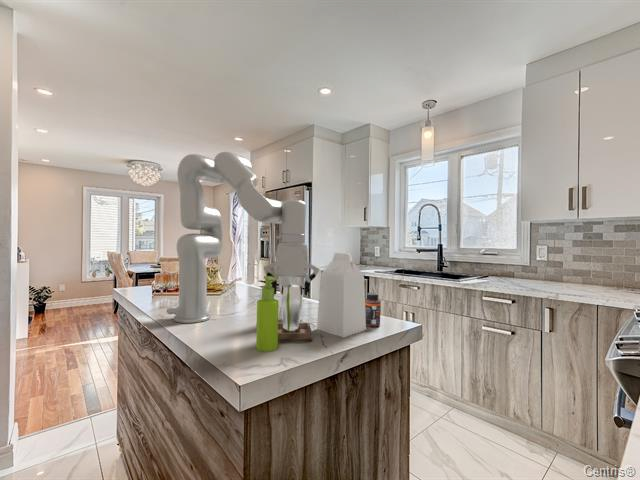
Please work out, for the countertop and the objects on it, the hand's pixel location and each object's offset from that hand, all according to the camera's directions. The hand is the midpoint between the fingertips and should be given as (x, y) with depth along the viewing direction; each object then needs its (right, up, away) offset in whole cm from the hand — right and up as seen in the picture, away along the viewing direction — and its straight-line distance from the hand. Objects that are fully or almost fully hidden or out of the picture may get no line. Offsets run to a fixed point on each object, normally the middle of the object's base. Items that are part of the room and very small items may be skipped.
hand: (290, 294), depth 100 cm
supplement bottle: (+28, -14, +14) cm, 34 cm away
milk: (+16, -14, +8) cm, 23 cm away
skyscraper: (-3, -13, +18) cm, 22 cm away
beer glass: (0, -12, 0) cm, 12 cm away
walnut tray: (0, -13, 0) cm, 13 cm away
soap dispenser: (-5, -13, -12) cm, 19 cm away
